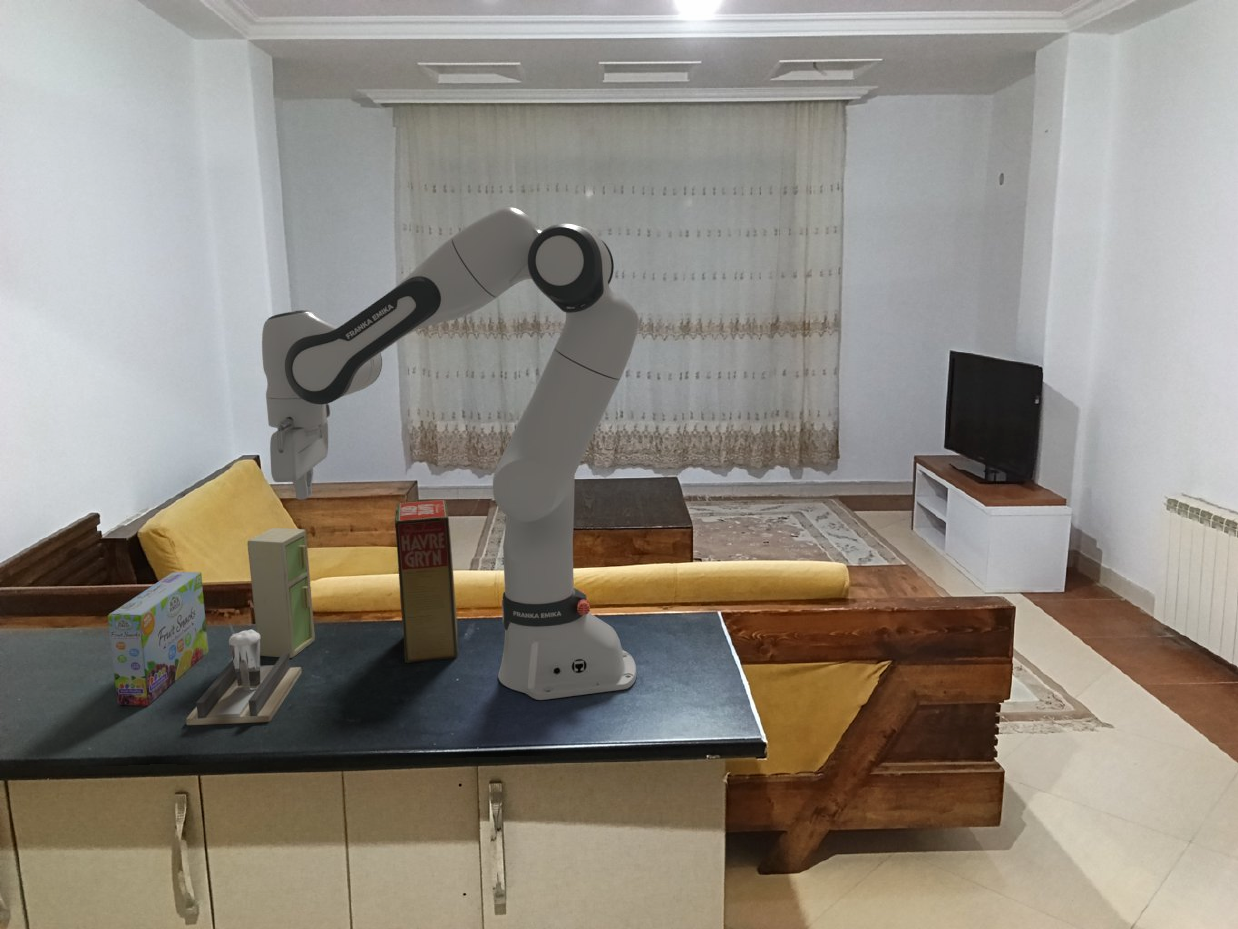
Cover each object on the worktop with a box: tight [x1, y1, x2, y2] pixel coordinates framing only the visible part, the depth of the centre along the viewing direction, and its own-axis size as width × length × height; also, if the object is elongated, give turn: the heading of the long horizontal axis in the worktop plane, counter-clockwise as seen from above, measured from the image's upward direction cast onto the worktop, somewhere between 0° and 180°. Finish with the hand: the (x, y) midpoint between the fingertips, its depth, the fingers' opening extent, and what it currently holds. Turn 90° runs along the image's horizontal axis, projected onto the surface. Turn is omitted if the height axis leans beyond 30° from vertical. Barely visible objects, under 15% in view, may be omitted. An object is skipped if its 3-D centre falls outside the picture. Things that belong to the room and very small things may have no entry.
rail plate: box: [185, 653, 302, 726], centre depth 143 cm, size 12×17×4 cm
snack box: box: [107, 571, 209, 707], centre depth 150 cm, size 21×6×15 cm, turn 0°
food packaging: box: [394, 499, 459, 663], centre depth 160 cm, size 13×9×25 cm
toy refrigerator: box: [247, 527, 316, 659], centre depth 160 cm, size 8×7×21 cm
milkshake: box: [228, 623, 261, 691], centre depth 143 cm, size 4×5×10 cm
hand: (304, 497), depth 150 cm, fingers closed
